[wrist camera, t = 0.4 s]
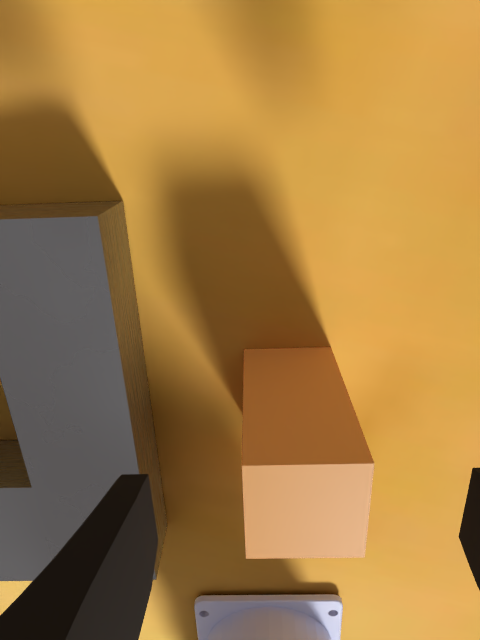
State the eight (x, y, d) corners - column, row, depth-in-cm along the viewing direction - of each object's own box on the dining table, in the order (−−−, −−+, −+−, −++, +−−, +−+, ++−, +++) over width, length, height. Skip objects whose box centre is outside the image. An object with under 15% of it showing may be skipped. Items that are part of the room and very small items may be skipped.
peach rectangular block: (327, 419, 20) (364, 557, 14) (246, 420, 20) (245, 558, 14) (330, 347, 19) (374, 463, 12) (243, 349, 19) (241, 465, 12)
